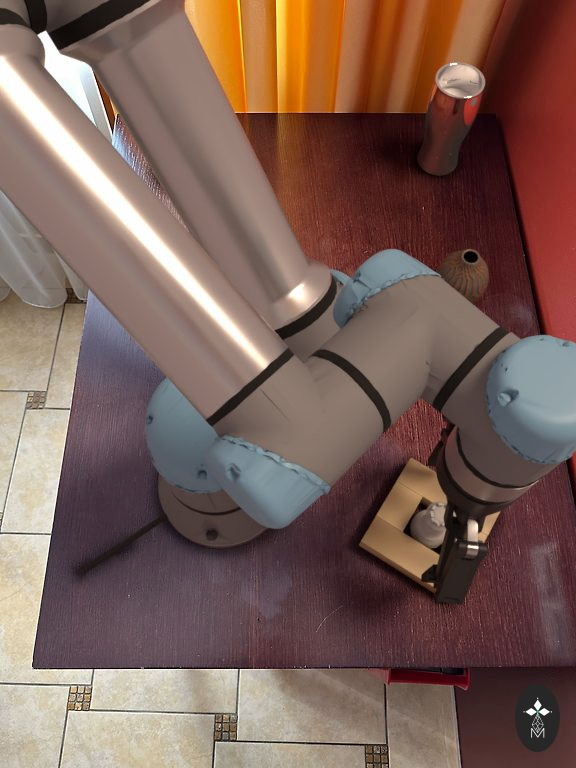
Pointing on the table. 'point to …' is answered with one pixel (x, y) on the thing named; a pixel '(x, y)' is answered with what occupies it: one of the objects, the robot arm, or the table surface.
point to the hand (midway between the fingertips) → (436, 520)
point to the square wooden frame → (396, 513)
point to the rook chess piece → (430, 525)
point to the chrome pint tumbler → (450, 116)
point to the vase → (465, 273)
